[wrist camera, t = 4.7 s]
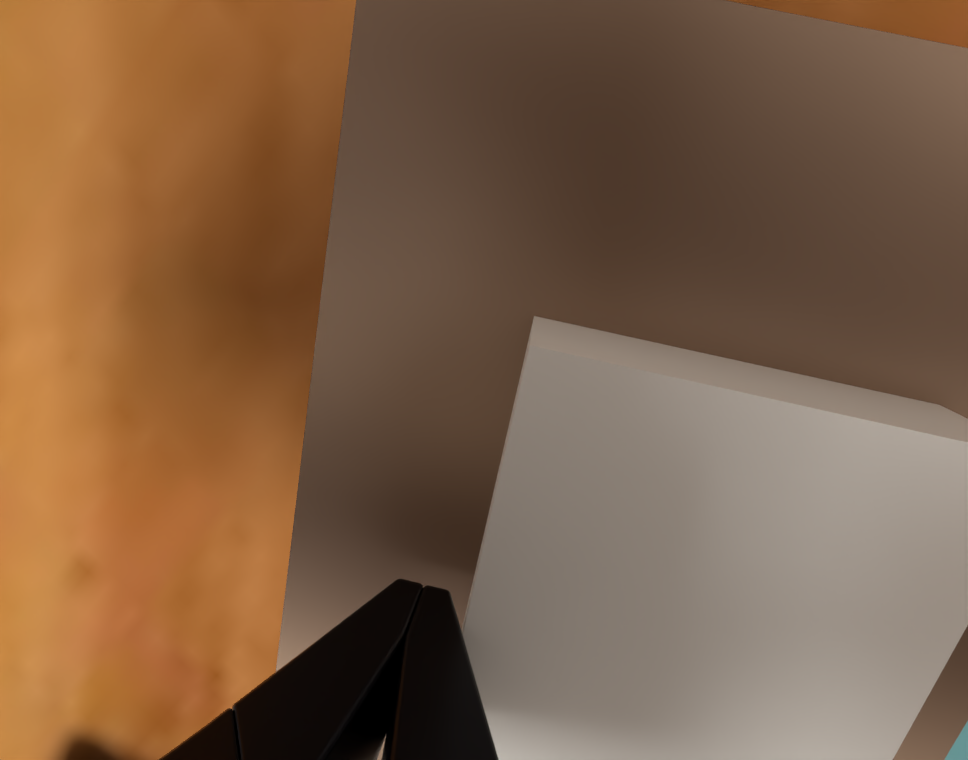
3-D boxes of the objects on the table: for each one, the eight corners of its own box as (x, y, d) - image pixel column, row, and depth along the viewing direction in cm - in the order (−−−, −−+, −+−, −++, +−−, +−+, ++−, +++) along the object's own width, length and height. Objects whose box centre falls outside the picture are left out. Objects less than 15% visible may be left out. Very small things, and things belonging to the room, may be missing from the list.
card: (735, 836, 11) (774, 970, 9) (432, 759, 11) (407, 871, 9) (939, 404, 8) (1058, 462, 6) (534, 315, 8) (530, 345, 7)
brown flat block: (729, 826, 16) (787, 1019, 12) (320, 718, 16) (251, 871, 13) (1048, 153, 11) (1330, 119, 7) (427, 27, 11) (364, -71, 7)
